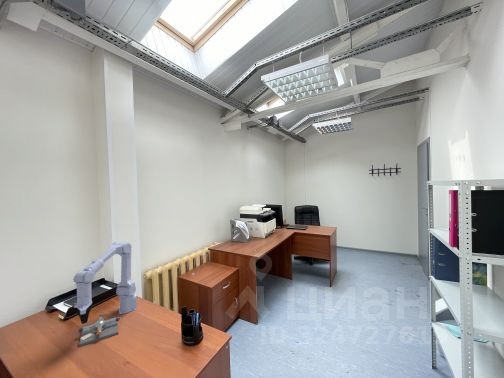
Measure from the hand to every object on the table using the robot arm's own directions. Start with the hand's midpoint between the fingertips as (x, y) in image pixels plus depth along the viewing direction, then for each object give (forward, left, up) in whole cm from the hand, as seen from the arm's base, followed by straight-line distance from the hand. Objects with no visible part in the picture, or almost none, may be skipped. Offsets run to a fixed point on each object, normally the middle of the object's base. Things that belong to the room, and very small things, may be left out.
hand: (84, 321), depth 108 cm
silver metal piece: (-6, -4, -8) cm, 11 cm away
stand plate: (-6, -4, -10) cm, 12 cm away
